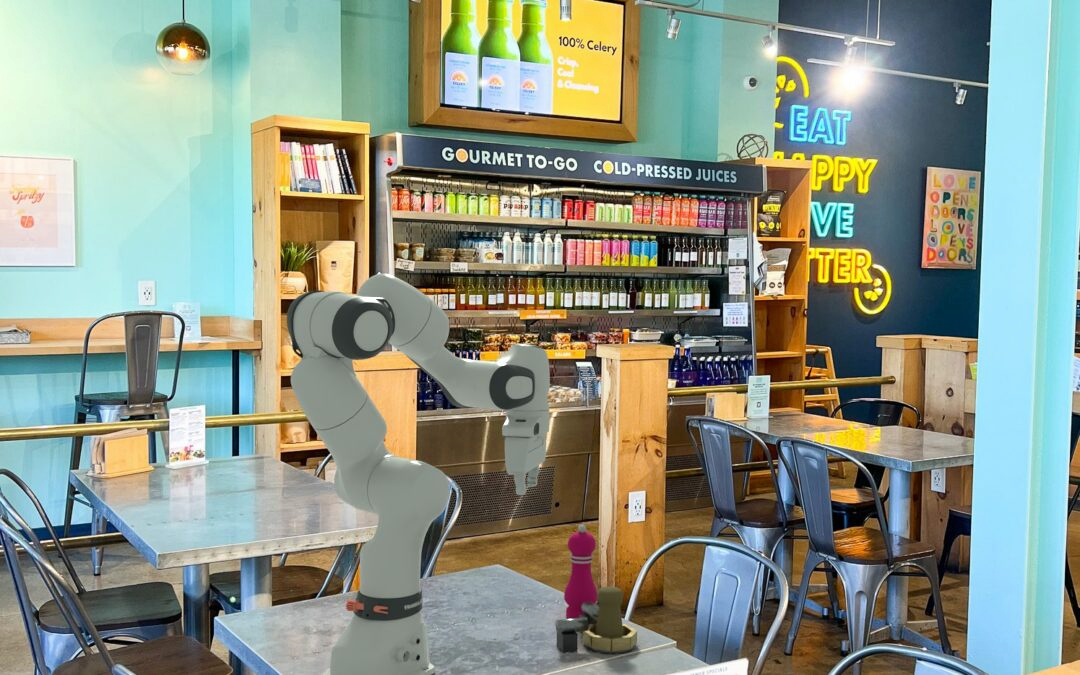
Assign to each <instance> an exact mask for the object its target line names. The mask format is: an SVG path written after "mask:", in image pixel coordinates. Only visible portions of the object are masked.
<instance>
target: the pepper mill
mask: <svg viewBox="0 0 1080 675" xmlns="http://www.w3.org/2000/svg"><path fill="white" fill-rule="evenodd" d="M596 546H597V544H596V539H595V537H594V536H593V534H592V533H590V532H587V527H586V525H584V524H580V525H578V527H577V531H576V532H575V531H574V532H573V533H572V534H570V536H569V537H568V541H567V548H568V550H569V552H571V553H570V554H569V557H570V558H569V561H570V562H571V573H570V577H569V579H568V582H567V584H566V586H565V590H564V593H563V595H564V596H563V599H564V601H565V603H566V604H567V605H568V606H567V607H566V608H565V609H566V610H565V616H566V619H573V618H579V614H581V613H584V612H583V611H582V604H583V603H584V602H585V601H591V602H592V603H594V604H595V605H596V603H598V601H597V593H598V590H597V587H596V584H595V581H594V580H593V579H594V578H593V576H592V568H591V567H592V562H593V561H594V559H593V558H594V555H593V552H594V551H595V550H596Z"/></svg>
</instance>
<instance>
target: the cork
mask: <svg viewBox="0 0 1080 675" xmlns="http://www.w3.org/2000/svg"><path fill="white" fill-rule="evenodd" d="M623 601H624V593H623V590H621V589H620V588H618V587H616V586H602V587H601V588H599V589H598V590H597V603H598V604H599V606H598V607H599V612H598V619H597V626H596V633H595V635H598V636H605V637H620V636H624V635H623V626H622V624H623V620H622V609H621V605H622V603H623Z"/></svg>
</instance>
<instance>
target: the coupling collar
mask: <svg viewBox="0 0 1080 675" xmlns="http://www.w3.org/2000/svg"><path fill="white" fill-rule="evenodd" d="M596 626H597V623H595V624H590V625H589V629H588V631H583V633H582V643H583V647H584V648H585V649H586V650H588V651H590V652H593V653H597V654H603V655H620V654H621V655H622V654H628V653H631V652H633V651H635V649H637V643H638V630H636V629H635V628H633V627H632V626H631V625H629V624H625V623H622V626H623V635H624V636H620V637H605V636H598V635H595V633H596Z"/></svg>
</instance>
